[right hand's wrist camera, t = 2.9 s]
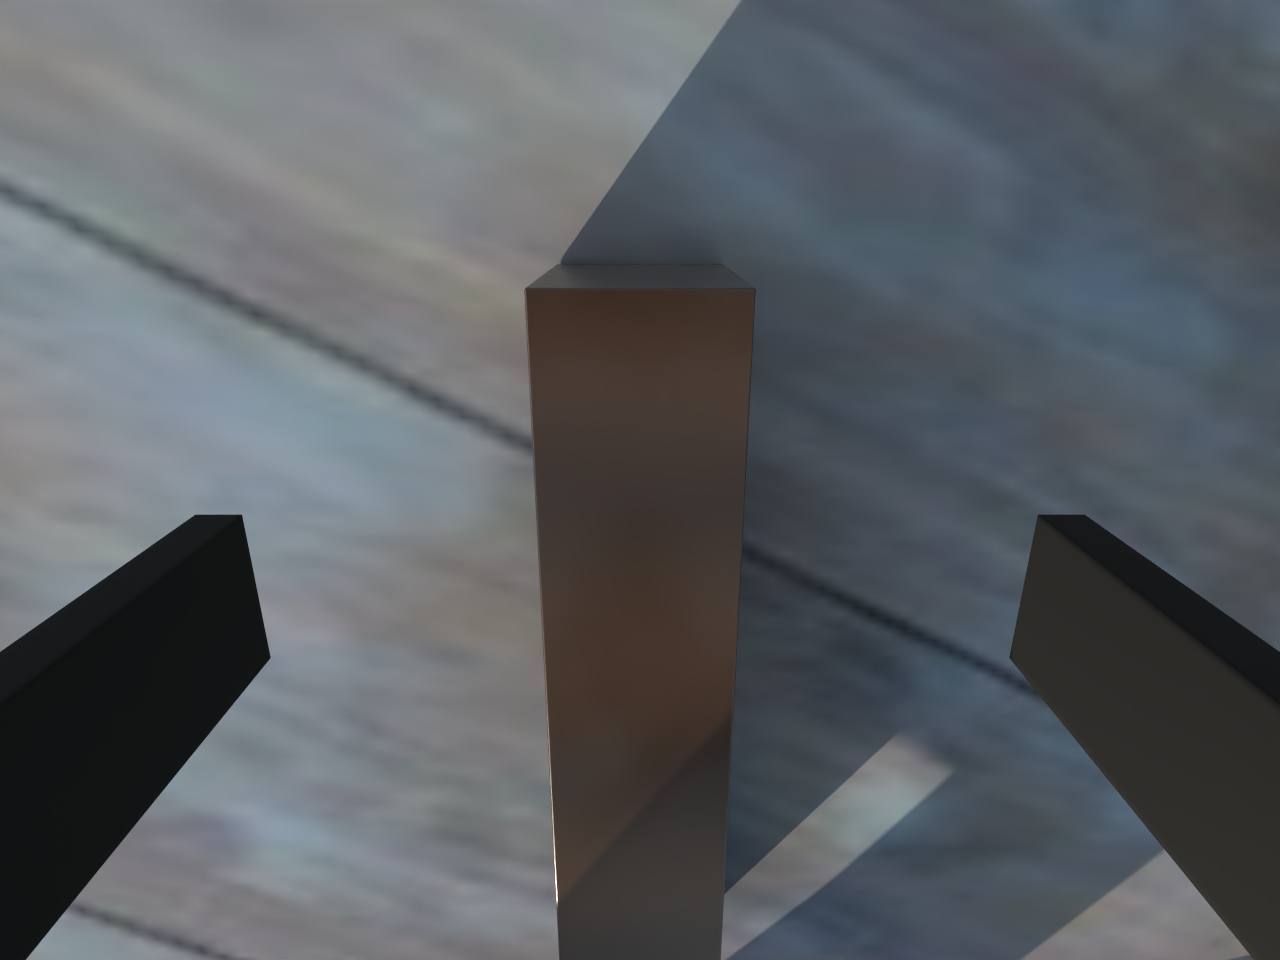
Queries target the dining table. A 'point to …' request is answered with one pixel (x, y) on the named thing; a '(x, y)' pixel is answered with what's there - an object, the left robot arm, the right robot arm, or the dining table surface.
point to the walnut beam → (640, 592)
